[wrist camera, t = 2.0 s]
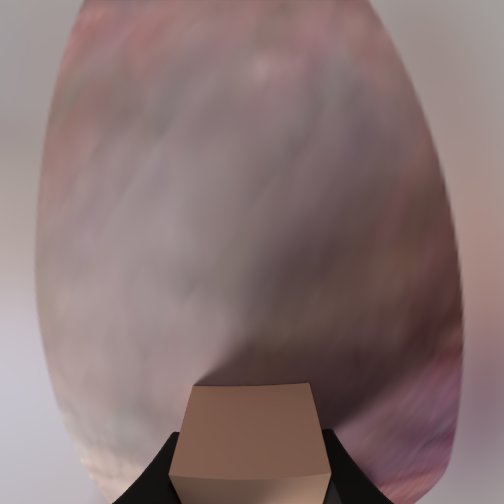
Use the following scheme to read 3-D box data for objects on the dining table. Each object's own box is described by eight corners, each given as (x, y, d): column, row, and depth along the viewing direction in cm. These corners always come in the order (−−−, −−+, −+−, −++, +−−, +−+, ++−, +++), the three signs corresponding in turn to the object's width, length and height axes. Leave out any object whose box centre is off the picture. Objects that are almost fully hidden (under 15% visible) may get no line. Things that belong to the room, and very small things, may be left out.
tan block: (302, 451, 10) (314, 528, 6) (207, 453, 10) (195, 529, 7) (309, 382, 10) (331, 473, 6) (192, 385, 10) (168, 474, 6)
